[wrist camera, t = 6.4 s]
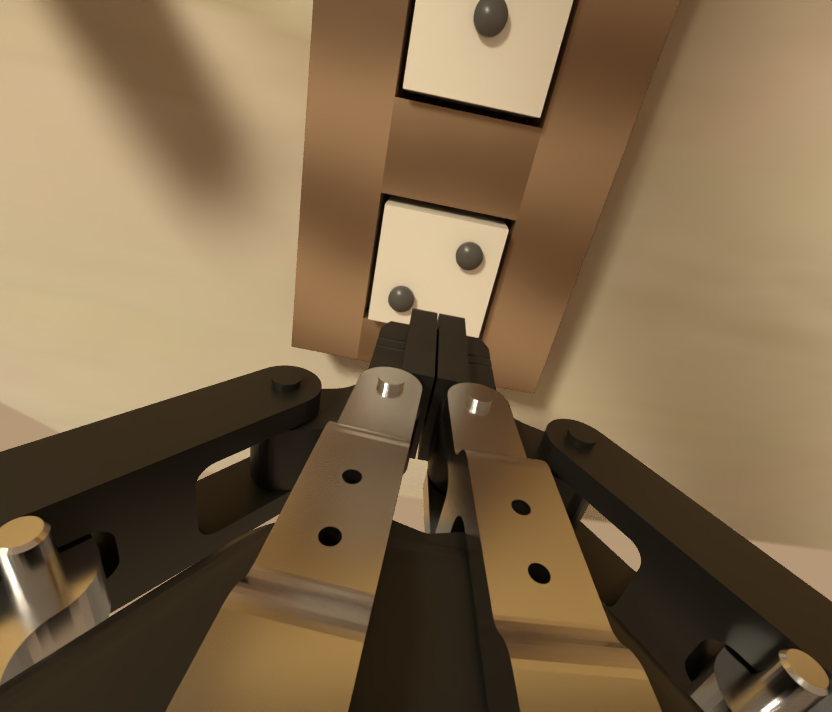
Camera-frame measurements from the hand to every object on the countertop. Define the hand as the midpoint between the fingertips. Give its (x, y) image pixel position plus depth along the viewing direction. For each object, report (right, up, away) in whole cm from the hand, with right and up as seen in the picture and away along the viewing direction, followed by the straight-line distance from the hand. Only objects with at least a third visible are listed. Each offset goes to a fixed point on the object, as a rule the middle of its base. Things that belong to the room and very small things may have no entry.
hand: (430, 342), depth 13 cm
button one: (+2, +12, +5) cm, 14 cm away
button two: (+1, +5, +9) cm, 10 cm away
